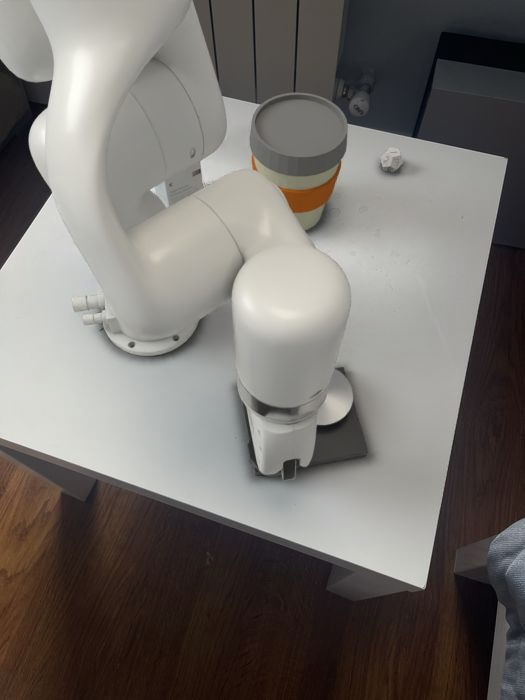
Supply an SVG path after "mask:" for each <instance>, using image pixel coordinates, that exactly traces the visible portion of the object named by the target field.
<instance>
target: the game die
mask: <svg viewBox="0 0 525 700" xmlns="http://www.w3.org/2000/svg"><path fill="white" fill-rule="evenodd" d="M380 162H381V163H380V164H381V166H382V168H383V171H385V172H389V173H395V172H396V171H397V170H398V169H400V167H401V166H402V165H403V164H404V160H403V155H402V152H401V150H400V148H397V147H389V148H388V149H386V150H385V152H384V153H383V154H381V156H380Z"/></svg>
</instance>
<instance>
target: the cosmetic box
mask: <svg viewBox="0 0 525 700" xmlns="http://www.w3.org/2000/svg"><path fill="white" fill-rule="evenodd" d="M202 188H204V184H203V174H202V165H201V161H199V162H197V163H196V164H194V165H192V166H190V167H189V168H187V169H185V170H183V171H181V172H179V173H178V174H176V175H174V176H172V177H170V178H168V179H167V180H165V181H164V182H163V183H161V184H159V185H158V186H156V187H154V190H155V195H157V196H158V197H159V199H160V200H161V201H162V202H163V203H164V205H165V206H166V208H168V207H169V206H171V205H173V204H175V203H176V202H178V201H180V200H182V199H183V198H185V197H188V196H190V195H192V194H193V193H195V192H197V191H199V190H200V189H202Z"/></svg>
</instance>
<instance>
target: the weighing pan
mask: <svg viewBox="0 0 525 700" xmlns="http://www.w3.org/2000/svg"><path fill="white" fill-rule="evenodd" d="M335 368H336V367H335ZM335 368H334V372H333V375H332V379H331V383H330V386H329V390H328V393H327V396H326V399H325V401H324V403H323V404H322V406H321V407H320V408H319V409H318V410H317V426H330V425H333V424H336V423H338V422H340V421H341V420H342V419H344V418H345V417H346V415H347V414H348V413H349V411H350V409H351V407H352V403H353V401H354V391H353V390H354V389H353V386H352V384H351V382H350V381H349V379H348V378H346V377H347V376H346V377H345V376H344V375H343V374H342V373H341V372H340V371H338V370H337V369H335Z"/></svg>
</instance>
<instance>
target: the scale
mask: <svg viewBox="0 0 525 700" xmlns="http://www.w3.org/2000/svg"><path fill="white" fill-rule="evenodd" d="M335 369H337V370H338V371H340V372H341V373H342V374H343V375H344V376H345V377H346V378H347V374H346V371H345V368H344V366H340V367H335ZM347 379H348V378H347ZM240 402H241V406H242V412H243V418H244V423H245V429H246V434H247V440H248V442H247V454H248V459H249V463H250V464H251V465H252V469H253V474H254V476H255V477H257V476H263V475H264V474H263V473H261V472H260V470H259V468H258V464H257V460H256V455H255V450H254V445H253V440H252V434H251V429H250V424H249V418H248V412H247V407H246V406H245V404H244V403H243V401H242V399H241V398H240ZM368 453H369V451H368V447H367V443H366V440H365V436H364V432H363V429H362V426H361V423H360V419H359V416H358V412H357V409H356V405H355V402H354V400H353V403H352V407H351V409H350V411H349V413H348V414H347V415H346V417H345V418H344V419H342V420H341V421H340V422H338V423H336V424H333V425H330V426H317V427H316V439H315V446H314V452H313V456H312V459H311V461H310V463H309V464H308V466H307V467H313V466H317V465H324V464H329V463H334V462H335V463H336V462H339V461H340V462H341V461H345V460H350V459H351V460H353V459H356V458H363V457H366V456H367V455H368ZM299 460H300V459H298V460H297V458H296V469H300V468H303V467H302V466H300V465H299ZM266 476H268V477H270V478H274V477H280V476H281V477H282V474H281V470H280V471H279V472H277V473H275V474H270V475H266Z"/></svg>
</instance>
